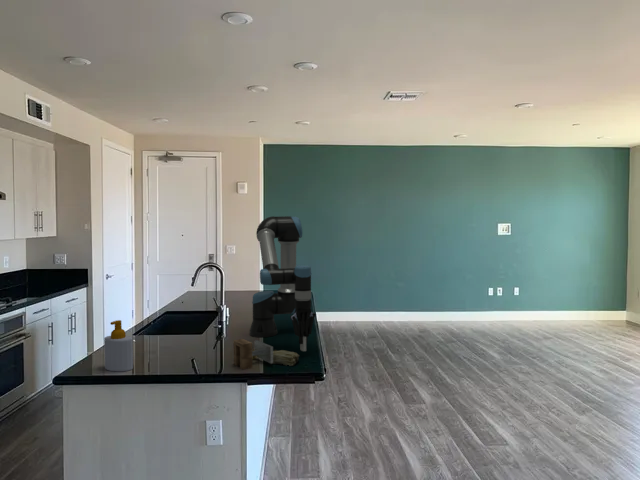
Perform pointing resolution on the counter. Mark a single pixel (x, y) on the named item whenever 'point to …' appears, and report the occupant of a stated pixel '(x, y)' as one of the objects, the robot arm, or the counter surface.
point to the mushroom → (285, 357)
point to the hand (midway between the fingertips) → (303, 350)
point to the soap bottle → (118, 349)
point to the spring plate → (263, 351)
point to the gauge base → (243, 353)
